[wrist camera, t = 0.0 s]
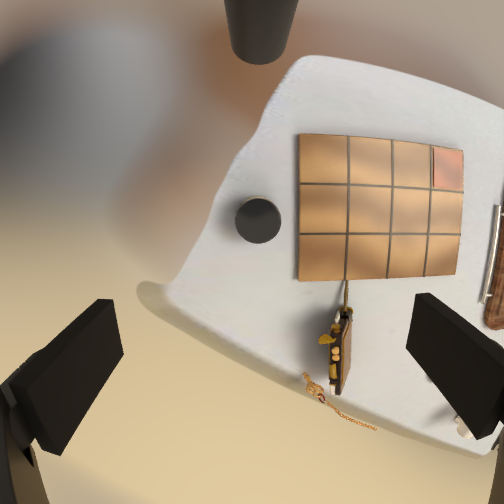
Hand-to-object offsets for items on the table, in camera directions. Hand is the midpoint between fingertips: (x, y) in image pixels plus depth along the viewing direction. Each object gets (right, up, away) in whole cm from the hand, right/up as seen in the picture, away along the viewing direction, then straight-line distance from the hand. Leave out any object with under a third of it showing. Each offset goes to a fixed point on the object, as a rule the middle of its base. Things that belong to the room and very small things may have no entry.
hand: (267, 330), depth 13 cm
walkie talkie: (+11, -6, +30) cm, 32 cm away
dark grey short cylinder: (0, +7, +25) cm, 27 cm away
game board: (+17, +9, +25) cm, 32 cm away
